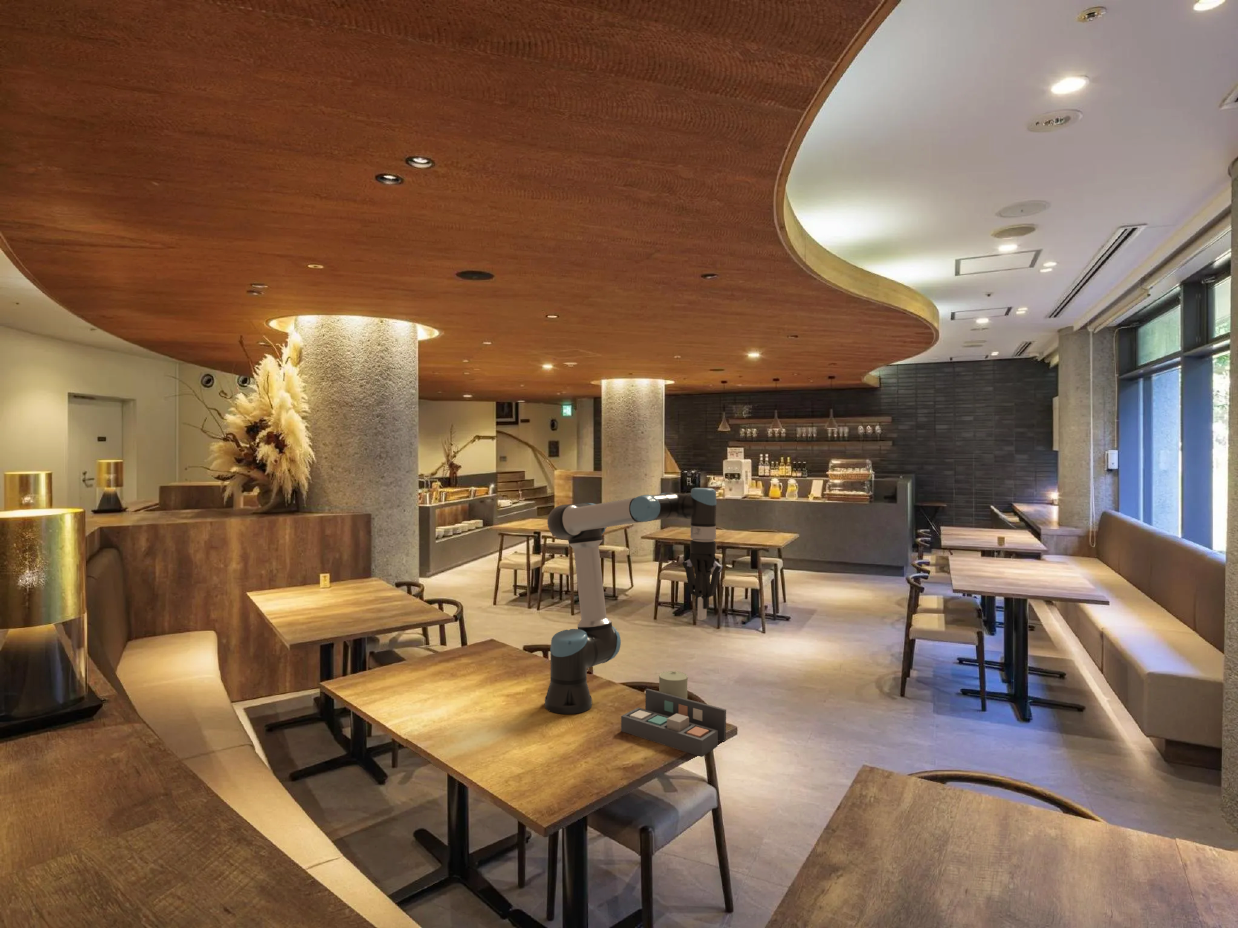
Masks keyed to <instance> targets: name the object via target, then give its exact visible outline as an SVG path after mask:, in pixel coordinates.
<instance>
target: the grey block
mask: <svg viewBox="0 0 1238 928" xmlns="http://www.w3.org/2000/svg"><path fill="white" fill-rule="evenodd" d="M688 727H689V717H688V716H684V715H681V714H677V713H676V714H674V715H673V716H671V717H669V718H667V728H668V729H672V730H675V731H678V732H681V731H683V730H684V729H686V728H688Z"/></svg>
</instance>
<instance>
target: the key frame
mask: <svg viewBox="0 0 1238 928" xmlns="http://www.w3.org/2000/svg"><path fill="white" fill-rule="evenodd" d="M639 710H641V711H645V712H648V713H651V716H649V717H647V718H645V719H643V720H639V719H635V718H632V717H630V715H631V714H633V713H635V712H637V711H639ZM657 715H658V716H662V717H665V718H669V717H670V716H666V715H663V714H659V713H656V712H652V711H649V710H646V709H645V708H643V707H636V708H634V709H632V710H631V711H628V712H627V713H624V714H622V715H620V717H621V718H620V719H621V720H620V731H621V732H623V733H625V734H629V735H632V736H635V737H638V738H641V739H644V740H647V741H650V742H654V743H657V744H660V745H664V746H666V747H670V748H672V749H675V750H678V751H682V752H684V753H688V754H691V755H694V756H696V757H700V758H702V757H705V756H706V755H707V754H709V753H710V752H712V751H713V750H715V749H716V748H717V747H718V743H719V740H718V730H715V729H711V728H708V727H704V726H701V725H697V724H694V723H690V722H689V727H688V728H686V729H684V730H683V731H681V732H678V731H675V730H672V729H668V728H667V723H665V724H663V725H662V726H658V725H655V724H652V723H649V722H648V720H650V719H652V718H654V717H656V716H657ZM694 727H700V728H703V729H706V730H709V733H708V734H707V735H705V736H704V737H702V738H698V737H695V736H692V735H688V734H687V732H688V731H689V730H691V729H693V728H694Z"/></svg>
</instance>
